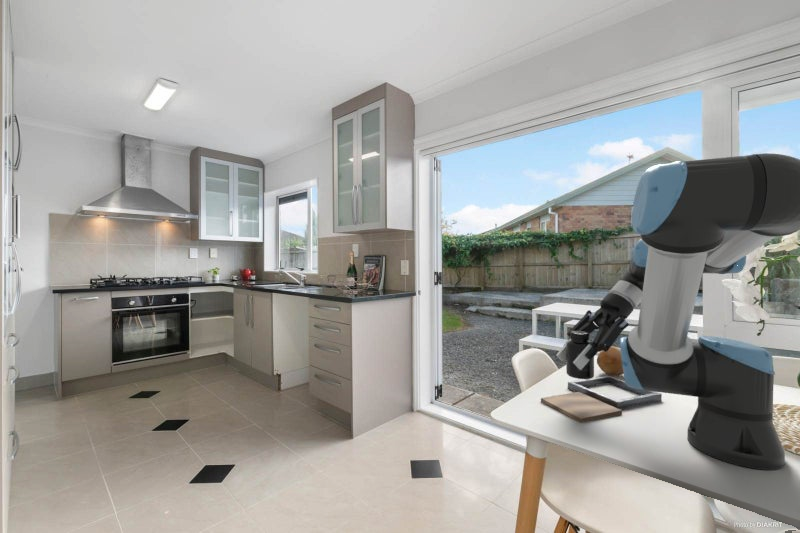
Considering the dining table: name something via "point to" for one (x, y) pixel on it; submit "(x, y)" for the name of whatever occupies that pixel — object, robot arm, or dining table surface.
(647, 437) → the dining table surface
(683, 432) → the dining table surface
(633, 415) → the dining table surface
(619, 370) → the onion
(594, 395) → the metal rim
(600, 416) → the walnut board
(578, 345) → the supplement bottle
